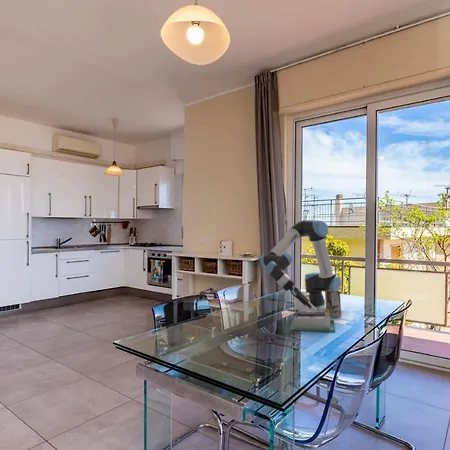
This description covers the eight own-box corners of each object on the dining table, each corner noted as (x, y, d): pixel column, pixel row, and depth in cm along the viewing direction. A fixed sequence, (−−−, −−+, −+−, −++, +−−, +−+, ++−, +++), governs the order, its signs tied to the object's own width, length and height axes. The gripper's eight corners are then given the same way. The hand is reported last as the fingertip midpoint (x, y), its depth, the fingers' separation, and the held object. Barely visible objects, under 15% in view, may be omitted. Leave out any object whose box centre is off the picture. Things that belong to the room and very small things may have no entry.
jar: (311, 314, 234) (310, 291, 233) (309, 318, 224) (308, 295, 224) (295, 313, 237) (294, 291, 237) (293, 317, 227) (291, 295, 227)
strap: (295, 314, 208) (295, 313, 208) (296, 312, 213) (296, 311, 213) (327, 316, 203) (327, 314, 203) (327, 313, 208) (327, 312, 208)
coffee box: (341, 316, 224) (340, 291, 224) (332, 317, 223) (330, 292, 223) (334, 312, 233) (333, 288, 233) (325, 313, 232) (324, 289, 232)
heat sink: (290, 331, 202) (289, 315, 202) (292, 320, 221) (291, 306, 221) (335, 332, 195) (334, 315, 195) (334, 321, 215) (333, 306, 214)
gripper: (283, 285, 219) (311, 312, 214) (280, 288, 206) (310, 318, 201) (291, 276, 217) (320, 304, 212) (289, 279, 205) (319, 309, 200)
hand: (315, 311), depth 207 cm, fingers closed
